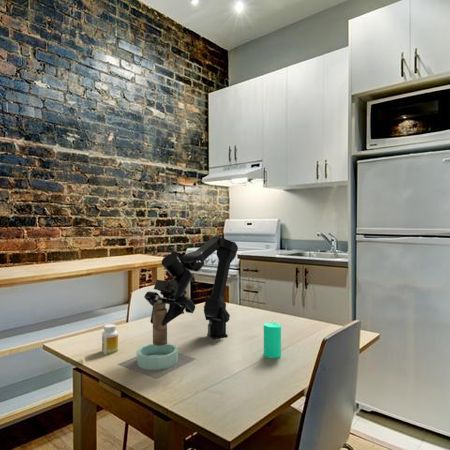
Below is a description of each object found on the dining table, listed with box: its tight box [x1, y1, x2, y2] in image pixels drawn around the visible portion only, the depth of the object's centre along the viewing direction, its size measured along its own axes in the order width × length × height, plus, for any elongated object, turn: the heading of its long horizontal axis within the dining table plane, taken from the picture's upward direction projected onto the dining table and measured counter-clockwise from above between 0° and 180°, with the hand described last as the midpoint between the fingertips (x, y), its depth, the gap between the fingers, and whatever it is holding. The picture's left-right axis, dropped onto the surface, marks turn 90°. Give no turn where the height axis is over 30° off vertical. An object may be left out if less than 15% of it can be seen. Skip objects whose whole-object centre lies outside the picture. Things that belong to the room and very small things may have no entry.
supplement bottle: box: [101, 323, 119, 355], centre depth 124 cm, size 5×5×10 cm
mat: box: [117, 352, 197, 379], centre depth 115 cm, size 18×18×1 cm
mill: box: [152, 300, 168, 346], centre depth 114 cm, size 5×5×14 cm
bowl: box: [136, 342, 179, 370], centre depth 115 cm, size 13×13×4 cm
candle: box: [263, 320, 282, 359], centre depth 122 cm, size 6×6×12 cm
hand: (156, 324), depth 113 cm, fingers closed on mill, 5 cm apart
